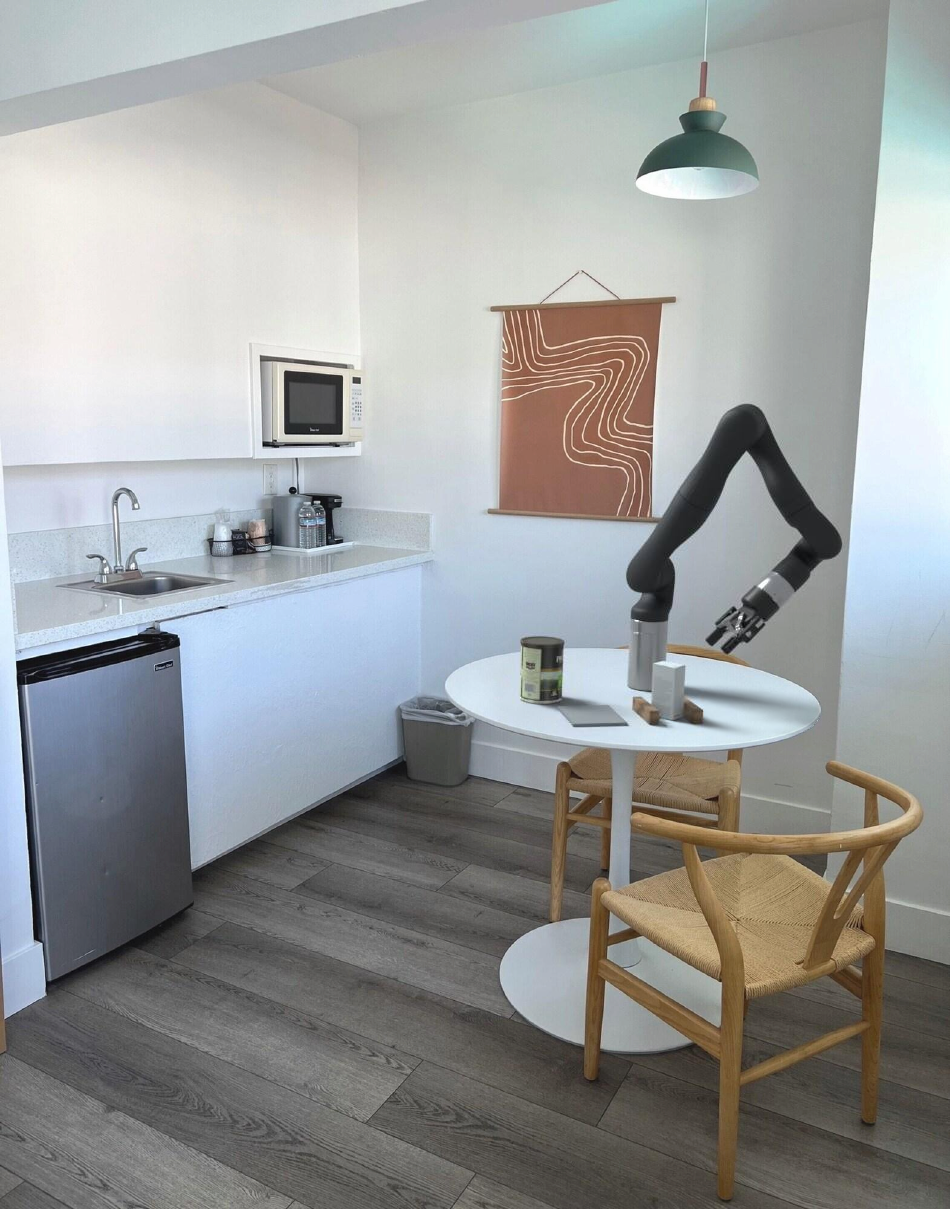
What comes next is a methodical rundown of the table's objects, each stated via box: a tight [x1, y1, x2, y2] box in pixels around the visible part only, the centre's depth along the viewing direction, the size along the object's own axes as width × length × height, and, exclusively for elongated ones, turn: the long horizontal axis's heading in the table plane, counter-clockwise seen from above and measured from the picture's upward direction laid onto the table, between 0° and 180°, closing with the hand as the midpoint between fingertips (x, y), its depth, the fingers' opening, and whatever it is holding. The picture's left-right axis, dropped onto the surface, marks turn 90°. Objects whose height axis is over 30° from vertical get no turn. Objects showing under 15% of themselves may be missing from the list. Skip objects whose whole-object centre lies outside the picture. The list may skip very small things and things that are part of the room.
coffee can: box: [518, 635, 565, 705], centre depth 222 cm, size 10×10×14 cm
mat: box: [557, 704, 628, 728], centre depth 209 cm, size 14×12×1 cm
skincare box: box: [650, 660, 686, 721], centre depth 210 cm, size 6×4×12 cm
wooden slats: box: [631, 696, 704, 726], centre depth 210 cm, size 12×12×3 cm
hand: (715, 647), depth 210 cm, fingers open, 8 cm apart
